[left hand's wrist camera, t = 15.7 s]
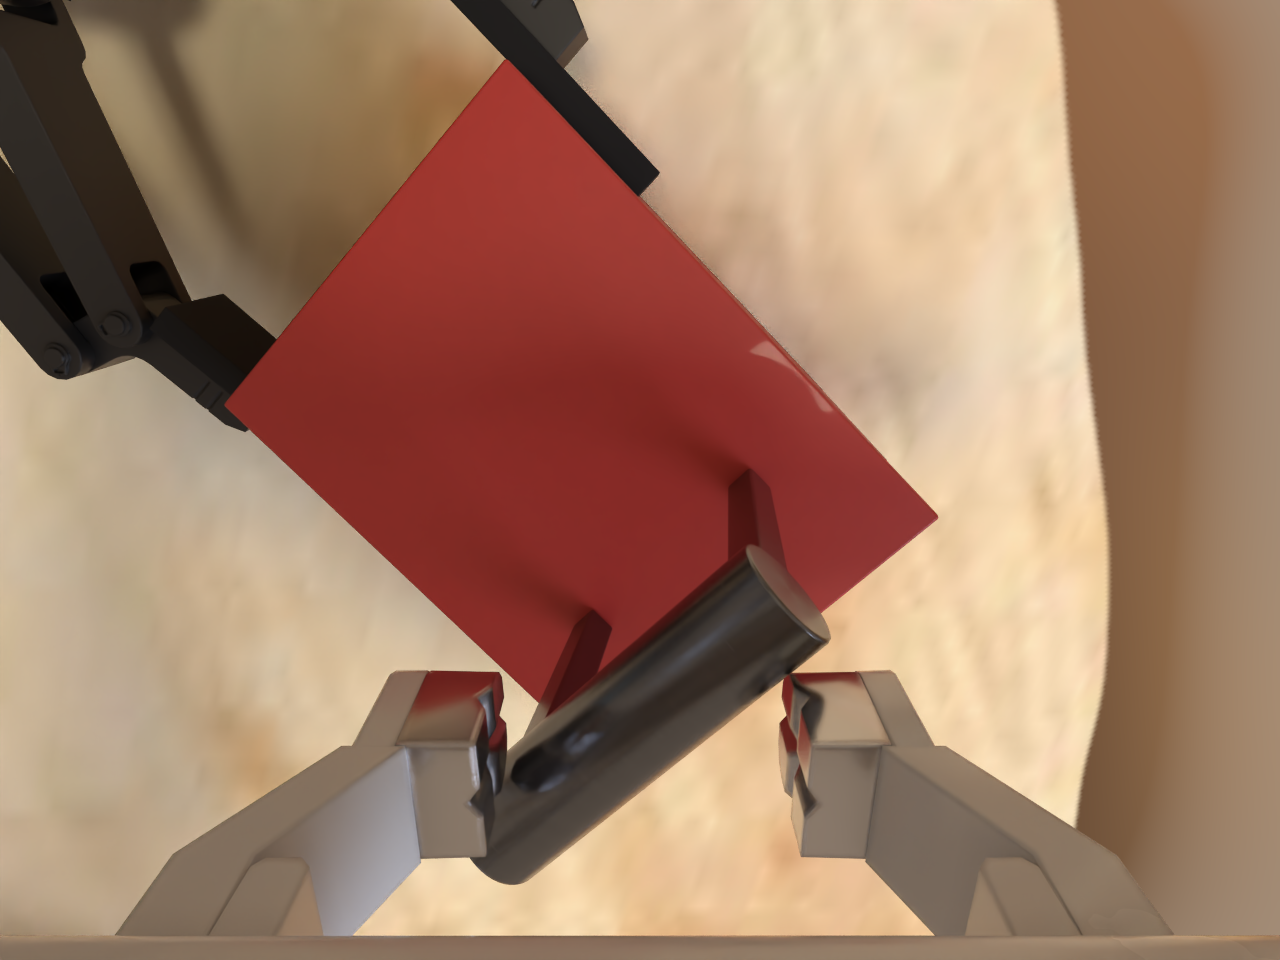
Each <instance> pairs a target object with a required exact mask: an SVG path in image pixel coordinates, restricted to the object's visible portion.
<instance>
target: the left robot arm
mask: <svg viewBox="0 0 1280 960" xmlns="http://www.w3.org/2000/svg"><path fill="white" fill-rule="evenodd" d="M503 699H504V693H503V683H502V677H501V675H500V673H499V672H470V671H430V672H429V671H395V672H393V673H392V674H390V675H389V677H388V679H387V681H386V683H385V684H384V686H383V688H382V690H381V692H380V694H379V696H378V698H377V700H376V701H375V703H374V705H373V707H372V709H371V711H370V713H369V715H368V717H367V719H366V720H365V722H364V724H363V726H362V728H361V730H360V732H359V734H358V736H357V737H356V739H355V741H354V743H353V745H352V746H341V747H339V748H338V749H336V750H335V751H333V752H331V753H330V754H328V755H327V756H325V757H324V758H322V759H321V760H319V761H317V762H316V763H314V764H313V765H311V766H310V767H308V768H306V769H305V770H303V771H302V772H300V773H299V774H297V775H296V776H294V777H292V778H291V779H289V780H288V781H286V782H285V783H283V784H282V785H280V786H278V787H277V788H275V789H274V790H272V791H271V792H269V793H268V794H266V795H264V796H263V797H261V798H260V799H258V800H257V801H255V802H253V803H252V804H250V805H249V806H247V807H246V808H244V809H243V810H241V811H239V812H238V813H236V814H235V815H233V816H232V817H230V818H229V819H227V820H225V821H224V822H222V823H221V824H219V825H218V826H216V827H214V828H213V829H211V830H210V831H208V832H207V833H205V834H204V835H202V836H200V837H199V838H197V839H196V840H194V841H193V842H191V843H190V844H188V845H186V846H185V847H183V848H182V849H180V850H179V851H177V852H175V853H174V854H173V855H172V856H171V858H170V859H169V860H168V862H167V863H166V865H165V866H164V867H163V869H162V870H161V872H160V873H159V874H158V876H157V877H156V879H155V880H154V881H153V883H152V884H151V886H150V887H149V888H148V890H147V891H146V893H145V894H144V895H143V897H142V898H141V900H140V901H139V902H138V904H137V905H136V907H135V908H134V909H133V911H132V912H131V914H130V915H129V916H128V918H127V919H126V921H125V922H124V923H123V925H122V926H121V928H120V929H119V930H118V932H117V933H116V935H115V936H0V960H1280V936H1175V935H1174V934H1173V932H1172V931H1171V929H1170V928H1169V927H1168V925H1167V924H1166V923H1165V921H1164V920H1163V918H1162V917H1161V916H1160V914H1159V913H1158V911H1157V910H1156V909H1155V907H1154V906H1153V905H1152V903H1151V902H1150V900H1149V899H1148V898H1147V896H1146V895H1145V893H1144V892H1143V891H1142V889H1141V888H1140V887H1139V885H1138V884H1137V882H1136V881H1135V880H1134V878H1133V877H1132V875H1131V874H1130V873H1129V871H1128V870H1127V868H1126V867H1125V866H1124V864H1123V863H1122V862H1121V860H1120V859H1119V857H1118V856H1117V855H1116V854H1114V853H1113V852H1111V851H1109V850H1108V849H1106V848H1105V847H1103V846H1101V845H1100V844H1098V843H1097V842H1095V841H1094V840H1092V839H1091V838H1089V837H1087V836H1086V835H1084V834H1083V833H1081V832H1080V831H1078V830H1076V829H1075V828H1073V827H1072V826H1070V825H1069V824H1067V823H1065V822H1064V821H1062V820H1061V819H1059V818H1058V817H1056V816H1054V815H1053V814H1051V813H1050V812H1048V811H1047V810H1045V809H1044V808H1042V807H1040V806H1039V805H1037V804H1036V803H1034V802H1033V801H1031V800H1029V799H1028V798H1026V797H1025V796H1023V795H1022V794H1020V793H1018V792H1017V791H1015V790H1014V789H1012V788H1011V787H1009V786H1007V785H1006V784H1004V783H1003V782H1001V781H1000V780H998V779H996V778H995V777H993V776H992V775H990V774H989V773H987V772H985V771H984V770H982V769H981V768H979V767H978V766H976V765H974V764H973V763H971V762H970V761H968V760H967V759H965V758H964V757H962V756H960V755H959V754H957V753H956V752H954V751H953V750H951V749H949V748H948V747H946V746H935V745H934V743H933V741H932V740H931V738H930V736H929V734H928V732H927V730H926V729H925V727H924V725H923V723H922V721H921V719H920V718H919V716H918V714H917V712H916V710H915V709H914V707H913V705H912V703H911V701H910V699H909V698H908V696H907V694H906V692H905V690H904V688H903V687H902V685H901V683H900V681H899V679H898V677H897V676H896V674H895V673H894V672H892V671H891V670H877V671H855V672H823V673H790V674H789V675H788V676H787V677H785V678H784V681H783V689H782V700H783V704H784V707H785V711H786V715H787V716H786V717H785V718H784V719H783V720H782V721H781V722H780V726H779V764H780V771H781V778H782V782H783V786H784V791H785V792H786V793H787V794H788V795H789V796H790V797H791V798H792V809H791V820H792V824H793V828H794V831H795V835H796V839H797V843H798V847H799V851H800V855H801V857H823V858H858V859H866V861H865V862H866V863H867V864H868V865H869V866H870V867H871V868H872V869H873V870H874V871H875V872H876V874H877V875H878V876H879V877H880V878H881V879H882V880H883V881H884V882H885V883H886V884H887V885H888V886H889V887H890V888H891V889H892V890H893V891H894V893H895V894H896V895H897V896H898V897H899V898H900V899H901V900H902V901H903V902H904V903H905V904H906V905H907V906H908V907H909V908H910V909H911V911H912V912H913V913H914V914H915V915H916V916H917V917H918V918H919V919H920V920H921V921H922V922H923V923H924V924H925V925H926V926H927V927H928V928H929V930H930V931H931V932H932V933H933V934H934V935H935V936H352V935H353V934H354V933H355V932H356V931H357V930H358V929H359V928H360V927H361V926H362V925H363V924H364V923H365V921H366V920H367V919H368V918H369V917H370V916H371V915H372V914H373V913H374V912H375V911H376V910H377V909H378V908H379V907H380V906H381V904H382V903H383V902H384V901H385V900H386V899H387V898H388V897H389V896H390V895H391V894H392V893H393V892H394V891H395V890H396V889H397V887H398V886H399V885H400V884H401V883H402V882H403V881H404V880H405V879H406V878H407V877H408V876H409V875H410V874H411V873H412V872H413V870H414V869H415V868H416V867H417V866H418V865H419V864H420V863H421V859H428V858H463V857H486V854H487V849H488V845H489V841H490V837H491V833H492V829H493V824H494V820H495V807H494V797H496V796H497V795H498V794H499V793H500V792H501V790H502V786H503V781H504V776H505V768H506V758H507V730H506V723H505V721H504V720H503V719H502V718H501V717H500V716H499V715H500V711H501V707H502V703H503Z"/></svg>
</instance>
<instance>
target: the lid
mask: <svg viewBox="0 0 1280 960" xmlns="http://www.w3.org/2000/svg"><path fill="white" fill-rule="evenodd" d="M224 405H225V407H226V408H227V409H228V410H229V411H231V412H232V413H233V414H234V415H235V416H236V417H237V418H238V419H239V420H240V421H241V422H242V423H243V424H244V425H245V426H246V427H247V428H249V429H250V430H251V431H252V432H253V433H254V434H255V435H256V436H257V437H258V438H259V439H260V440H261V441H262V442H263V443H264V444H265V445H266V446H268V447H269V448H270V449H271V450H272V451H273V452H274V453H275V454H276V455H277V456H278V457H279V458H280V459H281V460H282V461H283V462H284V463H286V464H287V465H288V466H289V467H290V468H291V469H292V470H293V471H294V472H295V473H296V474H297V475H298V476H299V477H300V478H301V479H302V480H304V481H305V482H306V483H307V484H308V485H309V486H310V487H311V488H312V489H313V490H314V491H315V492H316V493H317V494H318V495H319V496H320V497H321V498H323V499H324V500H325V501H326V502H327V503H328V504H329V505H330V506H331V507H332V508H333V509H334V510H335V511H336V512H337V513H338V514H339V515H341V516H342V517H343V518H344V519H345V520H346V521H347V522H348V523H349V524H350V525H351V526H352V527H353V528H354V529H355V530H356V531H357V532H358V533H360V534H361V535H362V536H363V537H364V538H365V539H366V540H367V541H368V542H369V543H370V544H371V545H372V546H373V547H374V548H375V549H376V550H378V551H379V552H380V553H381V554H382V555H383V556H384V557H385V558H386V559H387V560H388V561H389V562H390V563H391V564H392V565H393V566H394V567H396V568H397V569H398V570H399V571H400V572H401V573H402V574H403V575H404V576H405V577H406V578H407V579H408V580H409V581H410V582H411V583H412V584H413V585H415V586H416V587H417V588H418V589H419V590H420V591H421V592H422V593H423V594H424V595H425V596H426V597H427V598H428V599H429V600H430V601H431V602H433V603H434V604H435V605H436V606H437V607H438V608H439V609H440V610H441V611H442V612H443V613H444V614H445V615H446V616H447V617H448V618H449V619H450V620H452V621H453V622H454V623H455V624H456V625H457V626H458V627H459V628H460V629H461V630H462V631H463V632H464V633H465V634H466V635H467V636H468V637H470V638H471V639H472V640H473V641H474V642H475V643H476V644H477V645H478V646H479V647H480V648H481V649H482V650H483V651H484V652H485V653H486V654H487V655H489V656H490V657H491V658H492V659H493V660H494V661H495V662H496V663H497V664H498V665H499V666H500V667H501V668H502V669H503V670H504V671H505V672H507V673H508V674H509V675H510V676H511V677H512V678H513V679H514V680H515V681H516V682H517V683H518V684H519V685H520V686H521V687H522V688H523V689H525V690H526V691H527V692H528V693H529V694H530V695H531V696H532V697H533V698H534V699H535V700H536V701H537V702H538V703H539V704H538V706H537V708H536V711H535V713H534V715H533V717H532V719H531V722H530V724H529V726H528V728H527V730H526V733H525V735H524V737H523V738H522V739H521V740H520V741H518V742H517V743H516V744H515V745H514V746H513V747H511V748H510V749H509V750H508V751H507V758H506V768H505V776H504V781H503V786H502V790H501V792H500V793H499V794H498V795H497V796H496V797H494V807H495V820H494V824H493V829H492V833H491V837H490V841H489V845H488V849H487V854H486V857H470V859H471V860H472V861H473V863H474V864H475V865H476V866H477V867H478V868H479V869H480V870H481V871H482V872H483V873H484V874H485V875H487V876H488V877H490V878H491V879H493V880H495V881H497V882H499V883H503V884H508V885H516V884H521V883H524V882H526V881H528V880H529V879H531V878H532V877H533V876H534V875H536V874H537V873H538V872H540V871H541V870H542V869H543V868H545V867H546V866H547V865H548V864H550V863H551V862H552V861H553V860H555V859H556V858H557V857H559V856H560V855H561V854H562V853H564V852H565V851H566V850H567V849H569V848H570V847H571V846H572V845H574V844H575V843H576V842H578V841H579V840H580V839H581V838H583V837H584V836H585V835H586V834H588V833H589V832H590V831H591V830H593V829H594V828H595V827H597V826H598V825H599V824H600V823H602V822H603V821H604V820H605V819H607V818H608V817H609V816H610V815H612V814H613V813H614V812H616V811H617V810H618V809H619V808H621V807H622V806H623V805H624V804H626V803H627V802H628V801H629V800H631V799H632V798H633V797H635V796H636V795H637V794H638V793H640V792H641V791H642V790H643V789H645V788H646V787H647V786H648V785H650V784H651V783H652V782H654V781H655V780H656V779H657V778H659V777H660V776H661V775H662V774H664V773H665V772H666V771H667V770H669V769H670V768H671V767H673V766H674V765H675V764H676V763H678V762H679V761H680V760H681V759H683V758H684V757H685V756H686V755H688V754H689V753H690V752H692V751H693V750H694V749H695V748H697V747H698V746H699V745H700V744H702V743H703V742H704V741H705V740H707V739H708V738H709V737H711V736H712V735H713V734H714V733H716V732H717V731H718V730H719V729H721V728H722V727H723V726H724V725H726V724H727V723H728V722H730V721H731V720H732V719H733V718H735V717H736V716H737V715H738V714H740V713H741V712H742V711H743V710H745V709H746V708H747V707H749V706H750V705H751V704H752V703H754V702H755V701H756V700H757V699H759V698H760V697H761V696H762V695H764V694H765V693H766V692H768V691H769V690H770V689H771V688H773V687H774V686H775V685H776V684H778V683H779V682H780V681H781V680H783V679H784V678H785V677H787V676H788V675H789V674H790V673H792V672H793V671H794V670H795V669H797V668H798V667H799V666H800V665H802V664H803V663H804V662H806V661H807V660H808V659H809V658H811V657H812V656H813V655H814V654H816V653H817V652H818V651H819V650H821V649H822V648H823V647H825V646H826V645H827V644H828V643H829V641H830V639H831V635H830V632H829V629H828V626H827V624H826V622H825V620H824V618H823V616H822V615H821V613H822V612H823V611H824V610H825V609H827V608H828V607H829V606H830V605H832V604H833V603H834V602H835V601H837V600H838V599H839V598H840V597H842V596H843V595H844V594H845V593H846V592H848V591H849V590H850V589H851V588H853V587H854V586H855V585H856V584H858V583H859V582H860V581H861V580H863V579H864V578H865V577H866V576H868V575H869V574H870V573H871V572H873V571H874V570H875V569H876V568H877V567H879V566H880V565H881V564H882V563H884V562H885V561H886V560H887V559H889V558H890V557H891V556H892V555H894V554H895V553H896V552H897V551H899V550H900V549H901V548H902V547H904V546H905V545H906V544H907V543H909V542H910V541H911V540H912V539H913V538H915V537H916V536H917V535H918V534H920V533H921V532H922V531H923V530H925V529H926V528H927V527H928V526H930V525H931V524H932V523H933V522H935V521H936V520H937V519H938V515H937V514H936V513H935V512H934V511H933V510H932V508H931V507H930V506H929V505H928V504H927V503H926V502H925V501H924V500H923V499H922V498H921V497H920V496H919V495H918V494H917V492H916V491H915V490H914V489H913V488H912V487H911V486H910V485H909V484H908V483H907V482H906V481H905V480H904V479H903V478H902V477H901V476H900V474H899V473H898V472H897V471H896V470H895V469H894V468H893V467H892V466H891V465H890V464H889V463H888V462H887V461H886V460H885V459H884V457H883V456H882V455H881V454H880V453H879V452H878V451H877V450H876V449H875V448H874V447H873V446H872V445H871V444H870V443H869V442H868V441H867V439H866V438H865V437H864V436H863V435H862V434H861V433H860V432H859V431H858V430H857V429H856V428H855V427H854V426H853V425H852V424H851V423H850V421H849V420H848V419H847V418H846V417H845V416H844V415H843V414H842V413H841V412H840V411H839V410H838V409H837V408H836V407H835V406H834V404H833V403H832V402H831V401H830V400H829V399H828V398H827V397H826V396H825V395H824V394H823V393H822V392H821V391H820V390H819V389H818V388H817V386H816V385H815V384H814V383H813V382H812V381H811V380H810V379H809V378H808V377H807V376H806V375H805V374H804V373H803V372H802V371H801V369H800V368H799V367H798V366H797V365H796V364H795V363H794V362H793V361H792V360H791V359H790V358H789V357H788V356H787V355H786V354H785V353H784V351H783V350H782V349H781V348H780V347H779V346H778V345H777V344H776V343H775V342H774V341H773V340H772V339H771V338H770V337H769V336H768V334H767V333H766V332H765V331H764V330H763V329H762V328H761V327H760V326H759V325H758V324H757V323H756V322H755V321H754V320H753V319H752V318H751V316H750V315H749V314H748V313H747V312H746V311H745V310H744V309H743V308H742V307H741V306H740V305H739V304H738V303H737V302H736V301H735V299H734V298H733V297H732V296H731V295H730V294H729V293H728V292H727V291H726V290H725V289H724V288H723V287H722V286H721V285H720V284H719V283H718V281H717V280H716V279H715V278H714V277H713V276H712V275H711V274H710V273H709V272H708V271H707V270H706V269H705V268H704V267H703V266H702V264H701V263H700V262H699V261H698V260H697V259H696V258H695V257H694V256H693V255H692V254H691V253H690V252H689V251H688V250H687V249H686V248H685V246H684V245H683V244H682V243H681V242H680V241H679V240H678V239H677V238H676V237H675V236H674V235H673V234H672V233H671V232H670V231H669V230H668V228H667V227H666V226H665V225H664V224H663V223H662V222H661V221H660V220H659V219H658V218H657V217H656V216H655V215H654V214H653V213H652V211H651V210H650V209H649V208H648V207H647V206H646V205H645V204H644V203H643V202H642V201H641V200H640V199H639V198H638V197H637V196H636V195H635V193H634V192H633V191H632V190H631V189H630V188H629V187H628V186H627V185H626V184H625V183H624V182H623V181H622V180H621V179H620V178H619V176H618V175H617V174H616V173H615V172H614V171H613V170H612V169H611V168H610V167H609V166H608V165H607V164H606V163H605V162H604V161H603V160H602V158H601V157H600V156H599V155H598V154H597V153H596V152H595V151H594V150H593V149H592V148H591V147H590V146H589V145H588V144H587V143H586V141H585V140H584V139H583V138H582V137H581V136H580V135H579V134H578V133H577V132H576V131H575V130H574V129H573V128H572V127H571V126H570V125H569V123H568V122H567V121H566V120H565V119H564V118H563V117H562V116H561V115H560V114H559V113H558V112H557V111H556V110H555V109H554V108H553V106H552V105H551V104H550V103H549V102H548V101H547V100H546V99H545V98H544V97H543V96H542V95H541V94H540V93H539V92H538V91H537V90H536V88H535V87H534V86H533V85H532V84H531V83H530V82H529V81H528V80H527V79H526V78H525V77H524V76H523V75H522V74H521V73H520V71H519V70H518V69H517V68H516V67H515V66H514V65H513V64H512V63H511V62H510V61H509V60H507V59H506V60H504V61H503V62H502V64H501V65H500V66H499V67H498V68H497V70H496V71H495V72H494V73H493V75H492V76H491V77H490V78H489V80H488V81H487V82H486V83H485V84H484V86H483V87H482V88H481V89H480V91H479V92H478V93H477V94H476V95H475V97H474V98H473V99H472V100H471V102H470V103H469V104H468V105H467V107H466V108H465V109H464V110H463V111H462V113H461V114H460V115H459V116H458V118H457V119H456V120H455V121H454V123H453V124H452V125H451V126H450V127H449V129H448V130H447V131H446V132H445V134H444V135H443V136H442V137H441V138H440V140H439V141H438V142H437V143H436V145H435V146H434V147H433V148H432V150H431V151H430V152H429V153H428V154H427V156H426V157H425V158H424V159H423V161H422V162H421V163H420V164H419V165H418V167H417V168H416V169H415V170H414V172H413V173H412V174H411V175H410V177H409V178H408V179H407V180H406V181H405V183H404V184H403V185H402V186H401V188H400V189H399V190H398V191H397V193H396V194H395V195H394V196H393V197H392V199H391V200H390V201H389V202H388V204H387V205H386V206H385V207H384V208H383V210H382V211H381V212H380V213H379V215H378V216H377V217H376V218H375V220H374V221H373V222H372V223H371V224H370V226H369V227H368V228H367V229H366V231H365V232H364V233H363V234H362V235H361V237H360V238H359V239H358V240H357V242H356V243H355V244H354V245H353V247H352V248H351V249H350V250H349V251H348V253H347V254H346V255H345V256H344V258H343V259H342V260H341V261H340V263H339V264H338V265H337V266H336V267H335V269H334V270H333V271H332V272H331V274H330V275H329V276H328V277H327V278H326V280H325V281H324V282H323V283H322V285H321V286H320V287H319V288H318V290H317V291H316V292H315V293H314V294H313V296H312V297H311V298H310V299H309V301H308V302H307V303H306V304H305V305H304V307H303V308H302V309H301V310H300V312H299V313H298V314H297V315H296V317H295V318H294V319H293V320H292V321H291V323H290V324H289V325H288V326H287V328H286V329H285V330H284V331H283V332H282V334H281V335H280V336H279V337H278V339H277V340H276V341H275V342H274V344H273V345H272V346H271V347H270V348H269V350H268V351H267V352H266V353H265V355H264V356H263V357H262V358H261V360H260V361H259V362H258V363H257V364H256V366H255V367H254V368H253V369H252V371H251V372H250V373H249V374H248V375H247V377H246V378H245V379H244V380H243V382H242V383H241V384H240V385H239V387H238V388H237V389H236V390H235V391H234V393H233V394H232V395H231V396H230V398H229V399H228V400H227V401H226V402H225V404H224Z"/></svg>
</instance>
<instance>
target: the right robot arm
mask: <svg viewBox="0 0 1280 960" xmlns="http://www.w3.org/2000/svg"><path fill="white" fill-rule="evenodd" d="M69 1H71V0H69ZM451 1H452V2H453V3H454V4H455V5H456V7H457V8H458V9H459V10H460V11H461V12H462V13H463V14H464V15H465V16H466V17H467V18H468V19H469V20H470V21H471V22H472V23H473V24H474V26H475V27H476V28H477V29H478V30H479V31H480V32H481V33H482V34H483V35H484V36H485V37H486V38H487V39H488V40H489V41H490V42H491V43H492V45H493V46H494V47H495V48H496V49H497V50H498V51H499V52H500V53H501V54H502V55H503V56H504V57H505V58H506V59H507V60H509V61H510V62H511V63H512V64H513V65H514V66H515V67H516V68H517V69H518V70H519V71H520V72H521V73H522V74H523V75H524V76H525V77H526V79H527V80H528V81H529V82H530V83H531V84H532V85H533V86H534V87H535V88H536V89H537V90H538V91H539V92H540V93H541V94H542V95H543V97H544V98H545V99H546V100H547V101H548V102H549V103H550V104H551V105H552V106H553V107H554V108H555V109H556V110H557V111H558V112H559V113H560V115H561V116H562V117H563V118H564V119H565V120H566V121H567V122H568V123H569V124H570V125H571V126H572V127H573V128H574V129H575V130H576V131H577V133H578V134H579V135H580V136H581V137H582V138H583V139H584V140H585V141H586V142H587V143H588V144H589V145H590V146H591V147H592V148H593V149H594V151H595V152H596V153H597V154H598V155H599V156H600V157H601V158H602V159H603V160H604V161H605V162H606V163H607V164H608V165H609V166H610V167H611V169H612V170H613V171H614V172H615V173H616V174H617V175H618V176H619V177H620V178H621V179H622V180H623V181H624V182H625V183H626V184H627V185H628V187H629V188H630V189H631V190H632V191H633V192H634V193H635V194H636V195H637V196H638V197H639V196H640V195H641V194H642V193H643V192H644V190H645V189H646V188H647V187H648V186H649V185H650V184H651V183H652V182H653V181H654V180H655V179H656V177H657V176H658V175H659V173H660V172H659V171H658V170H657V169H656V168H655V167H654V166H653V165H652V163H651V162H650V161H649V160H648V159H647V158H646V157H645V156H644V155H643V154H642V153H641V152H640V151H639V149H638V148H637V147H636V146H635V145H634V144H633V143H632V142H631V141H630V140H629V139H628V138H627V137H626V135H625V134H624V133H623V132H622V131H621V130H620V129H619V128H618V127H617V126H616V125H615V124H614V123H613V121H612V120H611V119H610V118H609V117H608V116H607V115H606V114H605V113H604V112H603V111H602V110H601V108H600V107H599V106H598V105H597V104H596V103H595V102H594V101H593V100H592V99H591V98H590V97H589V96H588V94H587V93H586V92H585V91H584V90H583V89H582V88H581V87H580V86H579V85H578V84H577V83H576V82H575V80H574V79H573V78H572V77H571V76H570V75H569V74H568V73H567V72H566V71H565V70H564V68H565V67H566V65H567V64H568V63H569V62H570V61H571V59H572V58H573V57H574V56H575V55H576V54H577V52H578V51H579V50H580V49H581V48H582V46H583V45H584V44H585V43H586V42H587V40H588V37H587V34H586V31H585V29H584V26H583V23H582V21H581V18H580V16H579V13H578V11H577V8H576V6H575V3H574V1H573V0H451ZM0 4H2V6H3V8H4V10H5V11H3V10H0V147H1V149H2V151H3V153H4V155H5V157H6V159H7V161H8V163H9V165H10V167H11V168H12V170H13V172H14V173H13V172H12V171H11V169H10V168H9V167H8V165H7V164H6V163H5V162H4V160H3V159H2V158H1V156H0V320H1V322H2V323H3V324H4V325H5V326H6V328H7V329H8V330H9V331H10V332H11V333H12V335H13V336H14V337H15V338H16V339H17V341H18V342H19V343H20V344H21V345H22V347H23V348H24V349H25V350H26V351H27V353H28V354H29V355H30V356H31V357H32V358H33V360H34V361H35V362H36V363H37V364H38V366H39V367H40V368H41V369H42V370H43V371H45V372H46V373H47V374H48V375H50V376H52V377H54V378H57V379H65V380H67V379H70V378H73V377H77V376H80V375H84V374H87V373H90V372H93V371H96V370H99V369H103V368H106V367H109V366H112V365H115V364H118V363H122V362H124V361H128V360H131V359H134V358H135V357H137V358H140V359H142V360H144V361H146V362H148V363H149V364H151V365H152V366H153V367H154V368H156V369H157V370H158V371H159V372H161V373H162V374H163V375H164V376H166V377H167V378H168V379H169V380H170V381H172V382H173V383H174V384H175V385H177V386H178V387H179V388H180V389H182V390H183V391H184V392H185V393H187V394H188V395H189V396H190V397H192V398H194V399H196V401H197V402H198V403H199V404H200V405H202V406H203V407H204V408H206V409H208V410H209V412H210V413H212V414H213V415H214V416H215V417H217V418H218V419H219V420H220V421H222V422H223V423H224V424H225V425H228V426H231V427H233V428H236V429H238V430H241V431H244V432H246V431H248V430H249V428H247V427H246V426H245V425H244V424H243V423H242V422H241V421H240V420H239V419H238V418H237V417H236V416H235V415H234V414H233V413H232V412H231V411H229V410H228V409H227V408H226V407H225V405H224V404H225V402H226V401H227V400H228V399H229V398H230V396H231V395H232V394H233V393H234V391H235V390H236V389H237V388H238V387H239V385H240V384H241V383H242V382H243V380H244V379H245V378H246V377H247V375H248V374H249V373H250V372H251V371H252V369H253V368H254V367H255V366H256V364H257V363H258V362H259V361H260V360H261V358H262V357H263V356H264V355H265V353H266V352H267V351H268V350H269V348H270V347H271V346H272V345H273V344H274V342H275V341H276V340H277V339H276V338H275V337H273V336H272V335H271V334H270V333H269V332H267V331H266V330H265V329H264V328H263V327H262V326H260V325H259V324H258V323H257V322H256V321H255V320H253V319H252V318H251V317H250V316H249V315H248V314H246V313H245V312H244V311H243V310H242V309H241V308H239V307H238V306H237V305H236V304H235V303H233V302H232V301H231V300H230V299H229V298H228V297H226V296H225V295H224V294H220V295H216V296H212V297H207V298H203V299H198V300H194V301H191V299H190V296H189V294H188V292H187V290H186V288H185V286H184V284H183V282H182V279H181V277H180V275H179V273H178V271H177V269H176V267H175V265H174V263H173V260H172V258H171V256H170V254H169V252H168V250H167V248H166V246H165V243H164V241H163V239H162V237H161V235H160V233H159V231H158V229H157V227H156V224H155V222H154V220H153V218H152V216H151V214H150V212H149V210H148V207H147V205H146V203H145V201H144V199H143V197H142V195H141V193H140V190H139V188H138V186H137V184H136V182H135V180H134V178H133V176H132V174H131V171H130V169H129V167H128V165H127V163H126V161H125V159H124V157H123V154H122V152H121V150H120V148H119V146H118V144H117V142H116V140H115V138H114V135H113V133H112V131H111V129H110V127H109V125H108V123H107V121H106V118H105V116H104V114H103V112H102V110H101V108H100V106H99V104H98V102H97V99H96V97H95V95H94V93H93V91H92V89H91V87H90V85H89V82H88V80H87V78H86V76H85V74H84V72H83V69H82V63H83V61H84V60H85V58H86V55H85V49H84V46H83V44H82V41H81V39H80V37H79V35H78V33H77V31H76V29H75V26H74V24H73V22H72V20H71V18H70V16H69V14H68V11H67V9H66V7H65V5H64V3H63V1H62V0H0Z"/></svg>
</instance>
